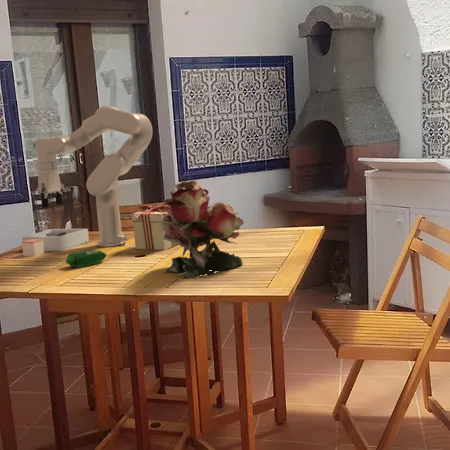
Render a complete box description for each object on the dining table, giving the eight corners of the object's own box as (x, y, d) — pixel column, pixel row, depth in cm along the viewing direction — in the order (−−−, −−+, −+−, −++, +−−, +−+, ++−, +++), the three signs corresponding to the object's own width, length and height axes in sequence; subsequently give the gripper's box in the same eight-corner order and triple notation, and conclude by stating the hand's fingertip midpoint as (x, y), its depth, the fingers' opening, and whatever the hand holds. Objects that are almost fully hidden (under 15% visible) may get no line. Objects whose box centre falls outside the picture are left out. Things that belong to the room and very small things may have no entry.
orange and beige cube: (44, 253, 269) (42, 239, 268) (35, 256, 263) (33, 241, 262) (33, 253, 271) (31, 239, 270) (23, 256, 265) (21, 241, 264)
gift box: (129, 251, 258) (125, 209, 256) (151, 242, 275) (148, 203, 272) (167, 251, 252) (163, 208, 249) (187, 242, 268) (184, 202, 266)
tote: (89, 241, 288) (87, 228, 287) (62, 251, 270) (60, 237, 269) (52, 241, 296) (51, 229, 295) (23, 250, 278) (22, 237, 277)
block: (66, 242, 284) (65, 231, 283) (58, 245, 279) (57, 234, 278) (55, 242, 287) (54, 231, 286) (47, 245, 281) (45, 234, 280)
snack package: (110, 262, 240) (109, 248, 240) (72, 270, 231) (70, 255, 230) (101, 260, 246) (100, 246, 245) (63, 267, 236) (62, 253, 235)
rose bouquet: (254, 262, 222) (249, 175, 217) (193, 280, 201) (185, 185, 196) (203, 255, 239) (197, 175, 235) (142, 272, 219) (134, 184, 214)
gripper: (53, 165, 287) (57, 203, 289) (27, 169, 271) (32, 209, 274) (67, 164, 284) (71, 202, 286) (42, 168, 268) (47, 208, 271)
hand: (52, 205), depth 280 cm, fingers open, 9 cm apart
